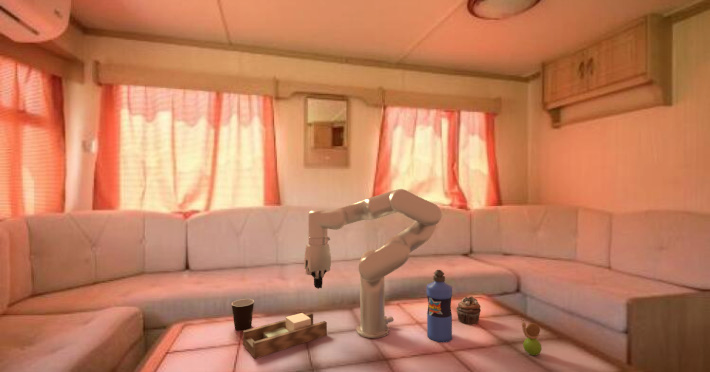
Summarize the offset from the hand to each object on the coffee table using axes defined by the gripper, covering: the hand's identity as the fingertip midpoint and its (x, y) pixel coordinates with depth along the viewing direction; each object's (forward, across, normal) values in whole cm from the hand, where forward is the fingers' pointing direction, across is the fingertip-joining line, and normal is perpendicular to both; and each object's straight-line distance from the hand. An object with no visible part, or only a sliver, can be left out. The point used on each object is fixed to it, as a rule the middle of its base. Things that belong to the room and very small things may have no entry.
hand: (318, 287), depth 132 cm
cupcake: (+17, -54, +31) cm, 65 cm away
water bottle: (+17, -33, +33) cm, 50 cm away
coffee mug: (+17, +22, -22) cm, 35 cm away
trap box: (+17, +14, 0) cm, 22 cm away
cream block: (+14, +9, 0) cm, 16 cm away
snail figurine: (+17, -47, +60) cm, 78 cm away
